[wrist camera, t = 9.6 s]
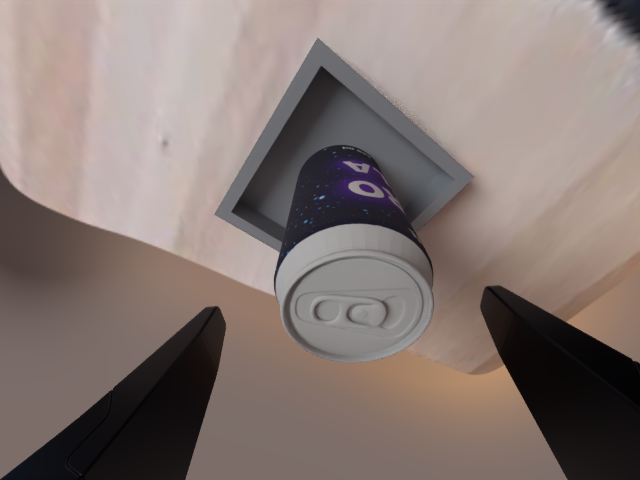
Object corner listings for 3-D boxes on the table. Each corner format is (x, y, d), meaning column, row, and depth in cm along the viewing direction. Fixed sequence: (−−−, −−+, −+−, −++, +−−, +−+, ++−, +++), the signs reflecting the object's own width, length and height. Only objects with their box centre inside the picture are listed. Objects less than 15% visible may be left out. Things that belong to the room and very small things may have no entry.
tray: (454, 162, 19) (474, 177, 17) (348, 270, 24) (351, 293, 22) (318, 42, 16) (317, 37, 13) (227, 196, 21) (214, 214, 18)
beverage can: (371, 224, 21) (418, 374, 11) (295, 217, 21) (267, 364, 10) (388, 146, 18) (476, 250, 8) (300, 136, 18) (267, 232, 7)
